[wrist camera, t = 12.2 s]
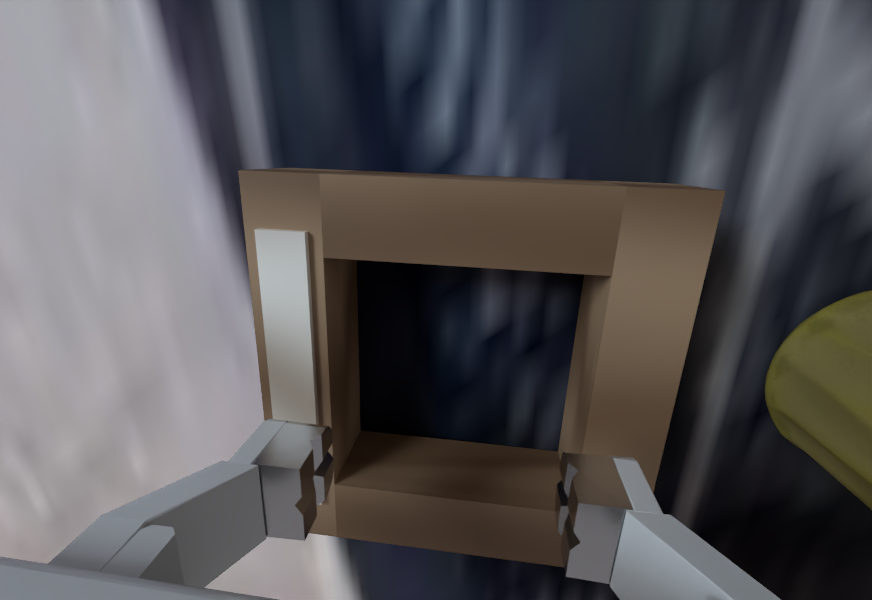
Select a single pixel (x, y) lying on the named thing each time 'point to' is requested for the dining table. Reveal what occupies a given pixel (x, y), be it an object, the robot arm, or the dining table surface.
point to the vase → (828, 391)
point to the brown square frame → (483, 248)
